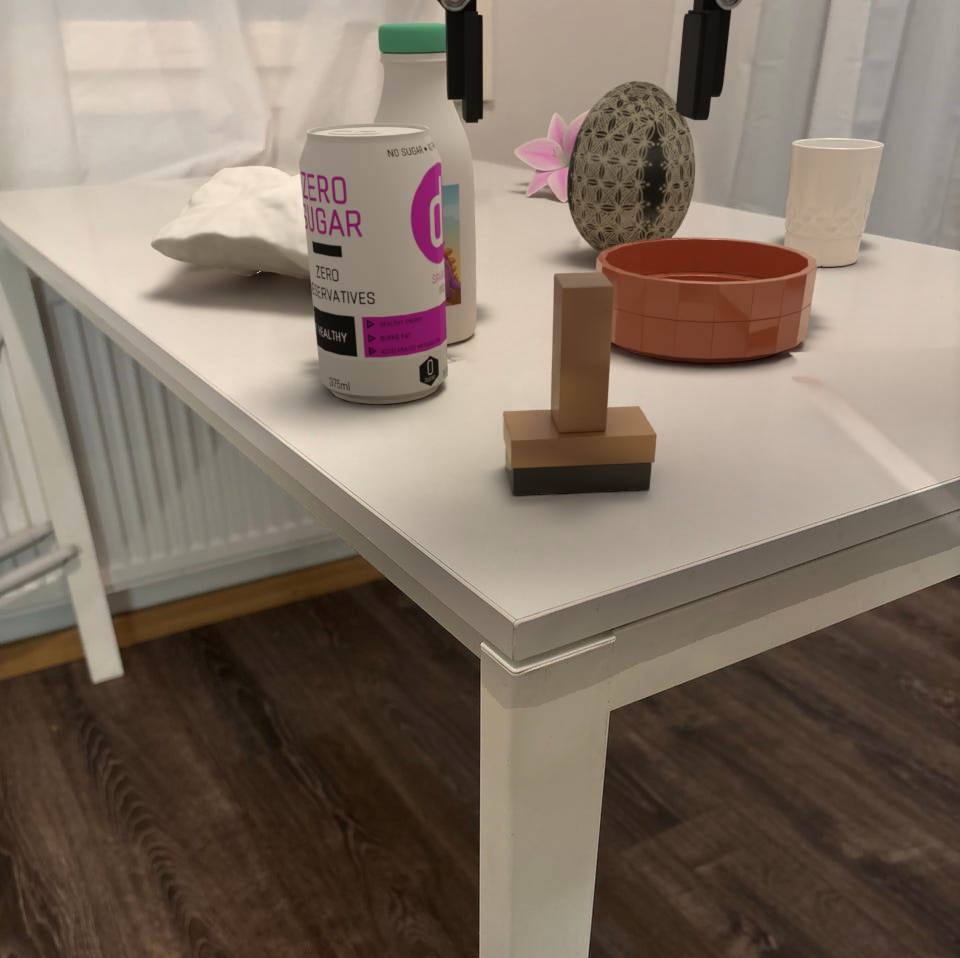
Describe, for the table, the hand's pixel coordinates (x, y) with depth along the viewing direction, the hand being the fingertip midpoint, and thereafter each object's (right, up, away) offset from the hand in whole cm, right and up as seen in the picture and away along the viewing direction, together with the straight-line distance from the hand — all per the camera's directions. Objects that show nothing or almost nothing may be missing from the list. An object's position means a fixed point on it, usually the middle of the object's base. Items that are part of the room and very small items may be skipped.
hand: (582, 118), depth 44 cm
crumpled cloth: (-23, +11, +49) cm, 55 cm away
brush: (+1, -14, +9) cm, 17 cm away
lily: (+6, +34, +86) cm, 92 cm away
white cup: (+28, +13, +52) cm, 61 cm away
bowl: (+12, 0, +31) cm, 33 cm away
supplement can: (-11, -6, +22) cm, 25 cm away
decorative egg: (+10, +14, +54) cm, 56 cm away
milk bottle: (-9, 0, +32) cm, 33 cm away
